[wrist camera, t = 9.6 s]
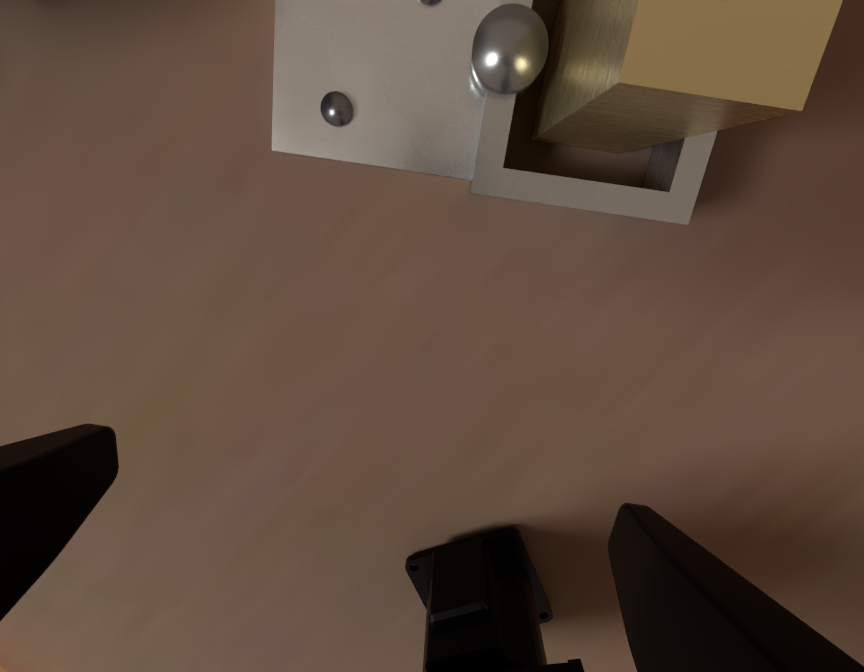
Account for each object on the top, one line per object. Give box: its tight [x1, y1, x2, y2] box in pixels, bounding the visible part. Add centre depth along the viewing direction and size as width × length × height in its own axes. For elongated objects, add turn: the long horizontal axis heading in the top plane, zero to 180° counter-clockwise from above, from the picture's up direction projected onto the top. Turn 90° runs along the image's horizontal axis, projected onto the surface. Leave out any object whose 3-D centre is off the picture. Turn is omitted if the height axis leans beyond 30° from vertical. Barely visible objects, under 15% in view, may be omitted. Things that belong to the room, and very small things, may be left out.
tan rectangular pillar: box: [532, 0, 843, 154], centre depth 12 cm, size 4×4×10 cm
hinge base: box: [272, 0, 717, 225], centre depth 16 cm, size 17×9×3 cm, turn 82°
